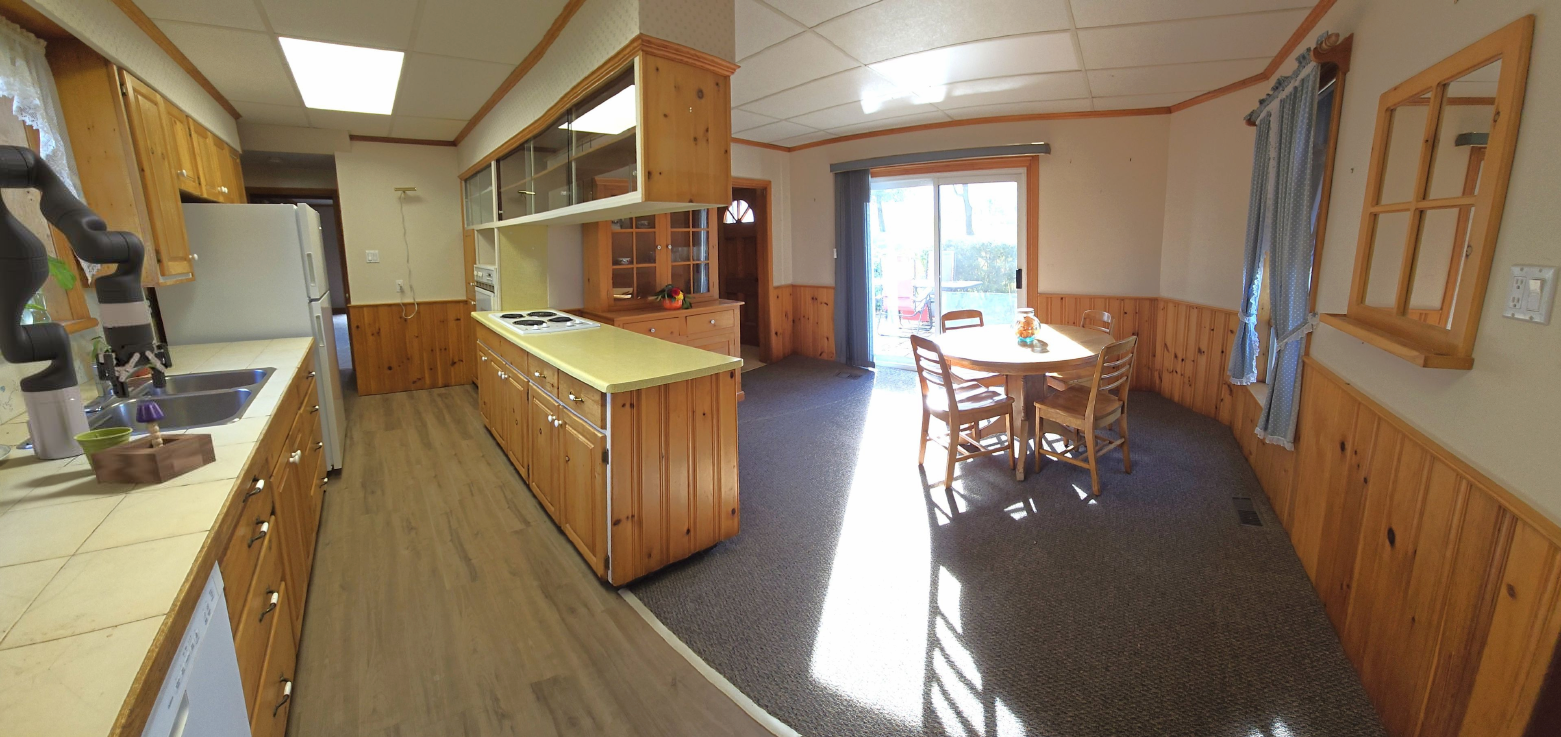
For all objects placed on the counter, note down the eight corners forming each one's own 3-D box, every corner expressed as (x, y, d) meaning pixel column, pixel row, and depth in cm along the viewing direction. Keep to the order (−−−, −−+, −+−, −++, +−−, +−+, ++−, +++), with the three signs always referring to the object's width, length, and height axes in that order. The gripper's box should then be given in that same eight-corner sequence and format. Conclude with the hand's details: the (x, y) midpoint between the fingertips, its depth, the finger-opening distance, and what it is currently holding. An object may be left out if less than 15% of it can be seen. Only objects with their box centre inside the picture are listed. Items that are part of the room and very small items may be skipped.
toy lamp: (158, 475, 142) (142, 406, 139) (142, 474, 143) (126, 405, 140) (182, 468, 147) (167, 400, 143) (166, 466, 148) (151, 399, 144)
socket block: (97, 483, 138) (90, 454, 136) (157, 461, 151) (151, 434, 150) (161, 483, 138) (155, 453, 136) (216, 460, 152) (210, 433, 150)
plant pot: (129, 458, 153) (121, 425, 151) (147, 464, 149) (139, 430, 148) (75, 471, 145) (66, 436, 143) (93, 477, 141) (84, 441, 139)
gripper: (140, 318, 144) (155, 385, 147) (74, 327, 130) (92, 401, 133) (173, 318, 144) (187, 385, 148) (110, 327, 130) (127, 401, 134)
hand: (142, 392), depth 141 cm, fingers open, 8 cm apart
